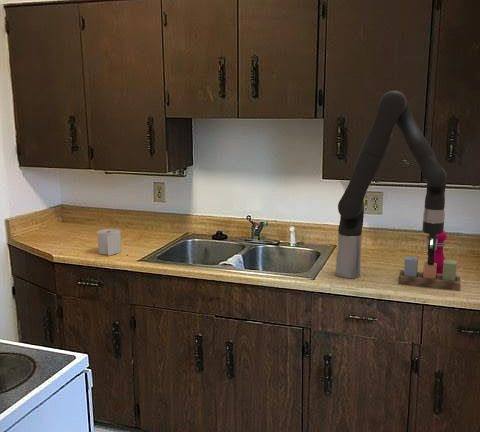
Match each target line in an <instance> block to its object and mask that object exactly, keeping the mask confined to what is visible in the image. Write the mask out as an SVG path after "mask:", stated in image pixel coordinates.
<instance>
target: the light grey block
mask: <svg viewBox="0 0 480 432" xmlns="http://www.w3.org/2000/svg"><path fill="white" fill-rule="evenodd" d="M96 233H97V234H96V235H97V244H98V245H97V246H98V247H97V249H98V251H97V252H98V254H100V255H104V256H109V257H110V256H112V255H116V254H119V253H122V235H121V234H122V233H121V230H120V229H118V228H104V229H100V230H97V232H96Z"/></svg>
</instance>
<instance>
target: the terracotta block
mask: <svg viewBox="0 0 480 432" xmlns="http://www.w3.org/2000/svg"><path fill="white" fill-rule="evenodd" d="M436 269H437V263H434V264H433V265H428V262H427V261H424V262H423V269H422V270H423V271H422V272H423V278H429V279H436Z"/></svg>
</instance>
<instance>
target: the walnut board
mask: <svg viewBox="0 0 480 432" xmlns="http://www.w3.org/2000/svg"><path fill="white" fill-rule="evenodd" d="M442 277H443V274H436V279H429V278H423V271H417V277H410V276H404V269H400V272H399V274H398V281H397V282H398V283H397V284H398V285H402V286H403V285H404V286H411V287H412V286H413V287H421V288H431V289H436V290H437V289H438V290H445V291H446V290H447V291H454V292H455V291H456V292H457V291H458V292H460V290H461V276H460V275H456V279H455V281H448V280H442Z"/></svg>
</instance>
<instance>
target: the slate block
mask: <svg viewBox="0 0 480 432" xmlns="http://www.w3.org/2000/svg"><path fill="white" fill-rule="evenodd" d="M403 264H404V265H403V267H404V268H403V270H404V276H410V277H417V272H418V268H419V267H418V264H419V257H418V256H405V258H404V263H403Z"/></svg>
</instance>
